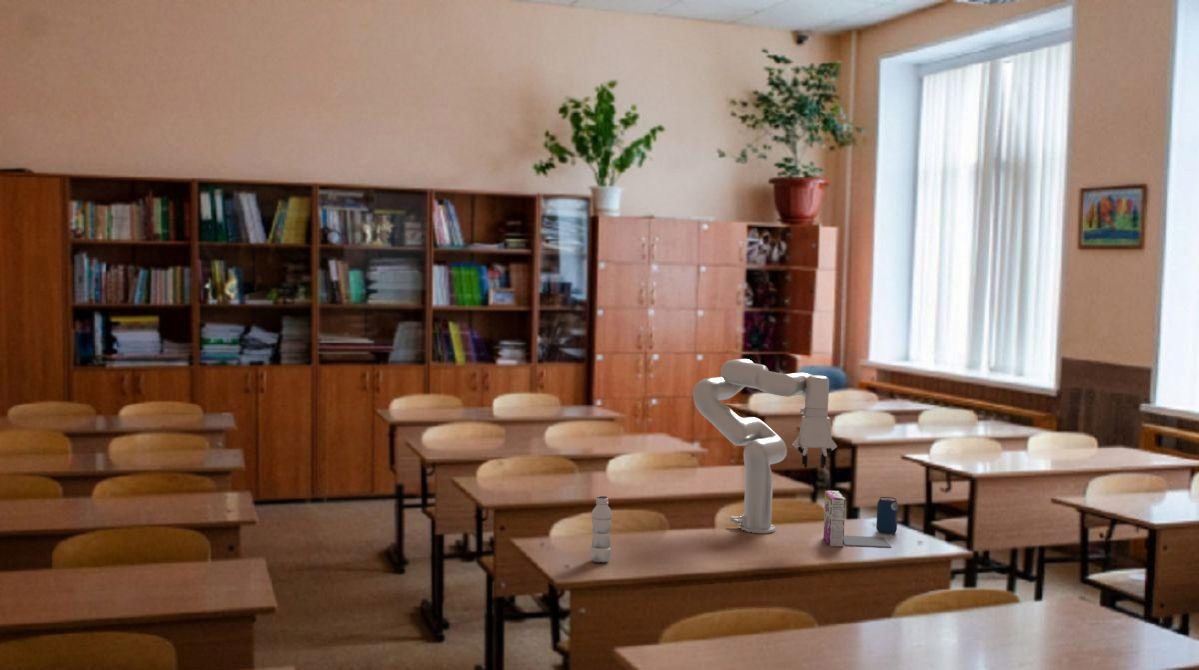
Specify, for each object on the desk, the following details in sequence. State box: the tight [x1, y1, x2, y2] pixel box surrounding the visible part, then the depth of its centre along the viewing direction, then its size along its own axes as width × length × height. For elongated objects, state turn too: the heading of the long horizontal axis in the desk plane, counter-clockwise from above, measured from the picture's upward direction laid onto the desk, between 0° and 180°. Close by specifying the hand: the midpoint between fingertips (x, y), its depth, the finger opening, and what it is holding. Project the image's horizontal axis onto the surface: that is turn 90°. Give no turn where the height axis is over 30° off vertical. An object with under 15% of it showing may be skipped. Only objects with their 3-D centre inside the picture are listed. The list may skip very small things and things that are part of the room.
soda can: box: [875, 496, 899, 536], centre depth 371 cm, size 7×7×12 cm
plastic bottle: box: [589, 495, 613, 563], centre depth 326 cm, size 6×7×20 cm
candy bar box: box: [823, 490, 846, 548], centre depth 356 cm, size 11×5×16 cm, turn 179°
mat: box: [843, 535, 892, 549], centre depth 359 cm, size 15×12×1 cm
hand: (813, 466), depth 355 cm, fingers open, 4 cm apart
